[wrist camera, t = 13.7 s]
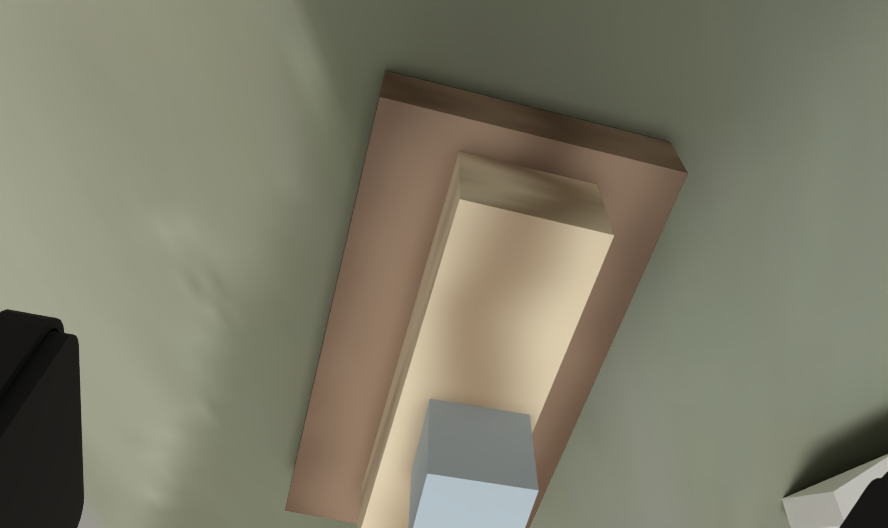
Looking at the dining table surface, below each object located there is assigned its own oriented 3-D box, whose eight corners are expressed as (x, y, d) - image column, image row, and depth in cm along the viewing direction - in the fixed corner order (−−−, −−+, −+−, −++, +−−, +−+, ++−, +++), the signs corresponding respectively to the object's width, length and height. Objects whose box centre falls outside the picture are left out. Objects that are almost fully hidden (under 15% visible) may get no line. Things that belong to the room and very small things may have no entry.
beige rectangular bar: (597, 184, 33) (614, 235, 29) (472, 505, 42) (474, 573, 38) (458, 150, 32) (459, 199, 28) (362, 485, 41) (353, 552, 38)
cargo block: (529, 414, 33) (538, 490, 30) (505, 486, 35) (511, 565, 32) (429, 398, 33) (427, 473, 30) (411, 472, 35) (407, 550, 32)
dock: (670, 142, 35) (687, 173, 32) (514, 508, 46) (518, 553, 43) (385, 70, 33) (379, 96, 31) (294, 466, 44) (285, 510, 42)
